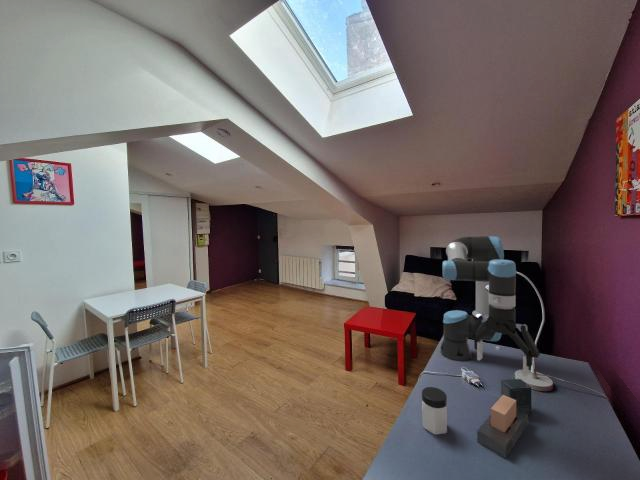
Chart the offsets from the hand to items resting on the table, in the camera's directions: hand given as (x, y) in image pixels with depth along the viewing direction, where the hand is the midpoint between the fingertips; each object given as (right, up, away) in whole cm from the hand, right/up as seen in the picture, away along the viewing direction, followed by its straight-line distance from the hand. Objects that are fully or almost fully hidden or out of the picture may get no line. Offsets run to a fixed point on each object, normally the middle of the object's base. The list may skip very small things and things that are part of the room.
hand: (501, 366), depth 91 cm
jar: (-21, -23, +4) cm, 32 cm away
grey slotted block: (+1, -23, 0) cm, 23 cm away
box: (+13, -22, +11) cm, 27 cm away
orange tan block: (+1, -23, 0) cm, 23 cm away
